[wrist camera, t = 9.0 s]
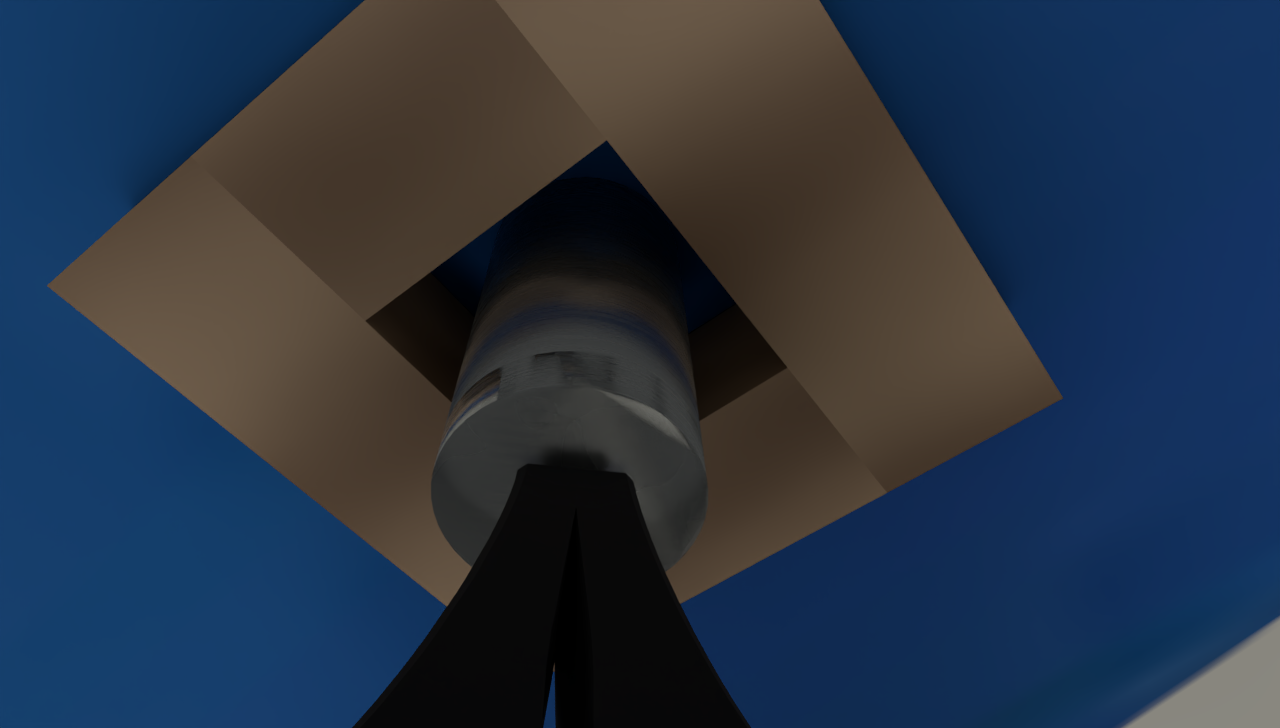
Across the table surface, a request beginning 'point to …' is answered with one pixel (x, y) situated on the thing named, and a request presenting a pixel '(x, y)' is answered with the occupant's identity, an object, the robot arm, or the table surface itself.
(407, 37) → the block
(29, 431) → the table surface
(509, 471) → the pin
